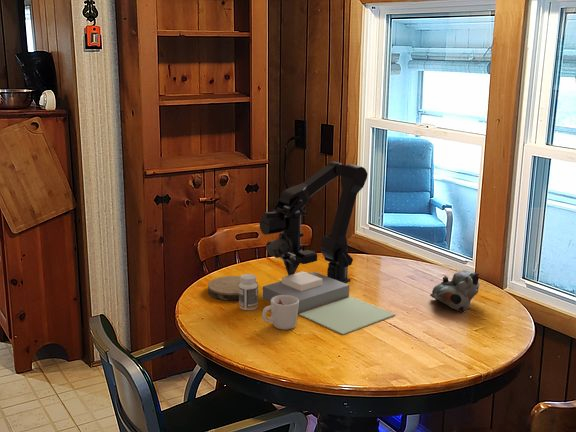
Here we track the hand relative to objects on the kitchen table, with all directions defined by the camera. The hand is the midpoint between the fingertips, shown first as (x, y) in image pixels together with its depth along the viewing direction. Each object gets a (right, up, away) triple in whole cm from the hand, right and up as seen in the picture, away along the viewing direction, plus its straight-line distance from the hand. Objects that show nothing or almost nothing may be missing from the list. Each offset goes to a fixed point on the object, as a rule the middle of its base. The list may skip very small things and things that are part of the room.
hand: (290, 276), depth 222 cm
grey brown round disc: (-18, -5, -1) cm, 19 cm away
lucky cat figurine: (+50, -8, -8) cm, 51 cm away
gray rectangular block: (+5, -6, -4) cm, 9 cm away
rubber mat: (+17, -10, -17) cm, 26 cm away
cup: (-3, -12, -26) cm, 29 cm away
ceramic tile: (+4, -2, -4) cm, 5 cm away
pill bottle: (-13, -8, -13) cm, 20 cm away
